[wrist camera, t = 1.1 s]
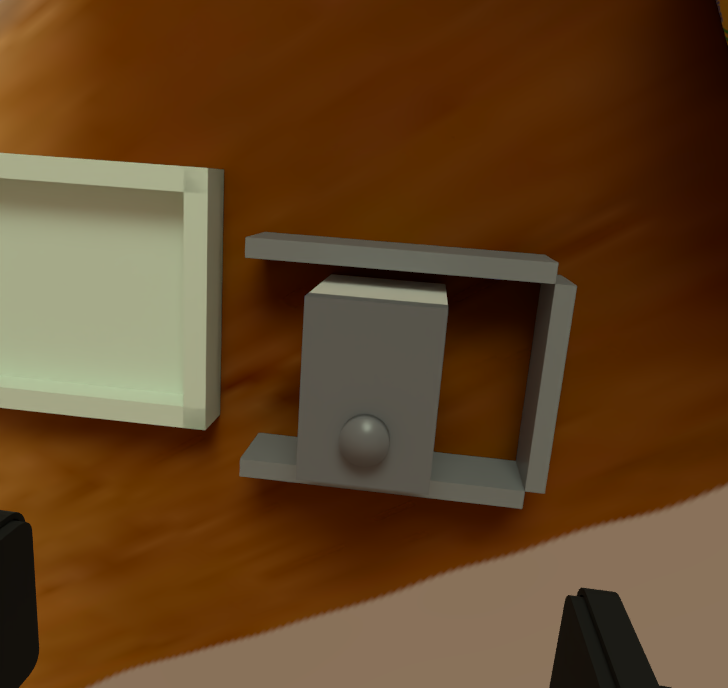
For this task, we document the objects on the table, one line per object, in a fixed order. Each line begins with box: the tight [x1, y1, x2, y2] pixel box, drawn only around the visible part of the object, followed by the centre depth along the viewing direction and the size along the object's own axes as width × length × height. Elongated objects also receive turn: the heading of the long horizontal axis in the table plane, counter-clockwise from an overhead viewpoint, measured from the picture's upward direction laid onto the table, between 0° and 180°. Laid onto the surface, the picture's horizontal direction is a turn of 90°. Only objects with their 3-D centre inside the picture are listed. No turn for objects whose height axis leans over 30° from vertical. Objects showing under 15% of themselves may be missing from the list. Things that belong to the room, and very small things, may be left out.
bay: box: [240, 232, 577, 509], centre depth 27 cm, size 13×10×3 cm
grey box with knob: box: [296, 274, 448, 495], centre depth 25 cm, size 5×7×7 cm
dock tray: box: [0, 153, 224, 430], centre depth 28 cm, size 13×11×2 cm
